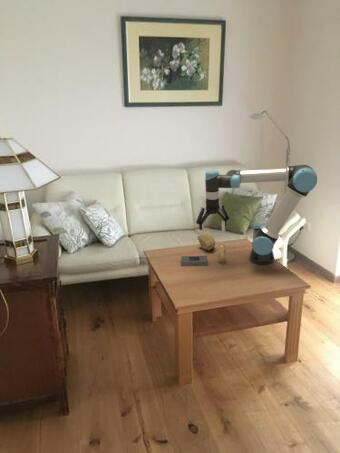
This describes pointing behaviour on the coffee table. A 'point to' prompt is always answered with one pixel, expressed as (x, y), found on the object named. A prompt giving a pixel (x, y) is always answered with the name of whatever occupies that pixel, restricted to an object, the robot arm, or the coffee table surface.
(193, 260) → the metal plate with hole
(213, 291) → the coffee table surface
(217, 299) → the coffee table surface
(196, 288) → the coffee table surface
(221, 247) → the gold peg
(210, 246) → the faceted tan rock
